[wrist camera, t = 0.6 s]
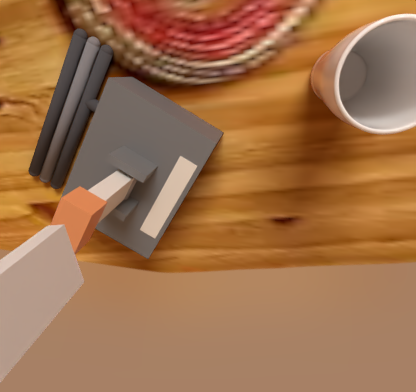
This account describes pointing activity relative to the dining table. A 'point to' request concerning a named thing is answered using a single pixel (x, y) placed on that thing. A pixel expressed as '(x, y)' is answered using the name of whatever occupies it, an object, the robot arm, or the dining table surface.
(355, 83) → the tall cup
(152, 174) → the switch block
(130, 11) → the dining table surface
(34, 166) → the cable bundle
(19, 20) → the dining table surface
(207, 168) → the dining table surface
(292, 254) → the dining table surface
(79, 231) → the toggle lever
